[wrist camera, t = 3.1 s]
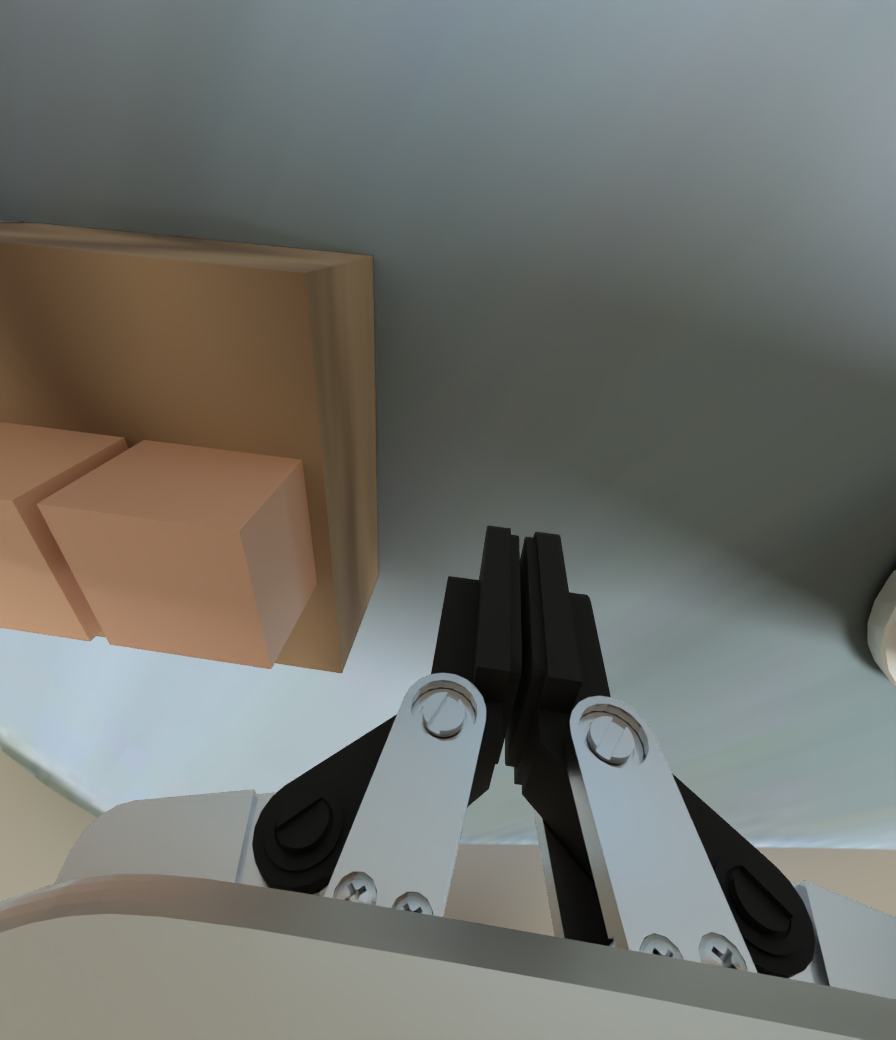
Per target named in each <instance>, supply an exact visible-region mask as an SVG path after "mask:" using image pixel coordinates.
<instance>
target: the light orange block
mask: <svg viewBox="0 0 896 1040" xmlns="http://www.w3.org/2000/svg"><path fill="white" fill-rule="evenodd" d="M126 450H128V446H127V443H126V440H125V437H117V436H109V435H101V434H93V433H85V432H77V431H69V430H61V429H53V428H45V427H37V426H29V425H21V424H13V423H5V422H0V628H6V629H12V630H19V631H25V632H32V633H38V634H45V635H51V636H58V637H65V638H71V639H78V640H84V641H91V640H92V639H93V638H94V637H95V636H96V635H97V634H98V633H99V632H100V631H101V630H102V628H101V626H100V624H99V622H98V621H97V619H96V617H95V615H94V613H93V611H92V609H91V607H90V605H89V603H88V601H87V600H86V598H85V596H84V594H83V592H82V590H81V588H80V586H79V584H78V582H77V580H76V578H75V577H74V575H73V573H72V571H71V569H70V567H69V565H68V563H67V561H66V559H65V557H64V555H63V554H62V552H61V550H60V548H59V546H58V544H57V542H56V540H55V538H54V536H53V534H52V532H51V531H50V529H49V527H48V525H47V523H46V521H45V519H44V517H43V515H42V513H41V511H40V509H39V508H38V506H37V503H39V502H40V501H42V500H44V499H45V498H47V497H49V496H50V495H52V494H54V493H55V492H57V491H59V490H61V489H62V488H64V487H66V486H67V485H69V484H71V483H72V482H74V481H76V480H77V479H79V478H81V477H82V476H84V475H86V474H87V473H89V472H91V471H92V470H94V469H96V468H98V467H99V466H101V465H103V464H104V463H106V462H108V461H109V460H111V459H113V458H114V457H116V456H118V455H119V454H121V453H123V452H124V451H126Z"/></svg>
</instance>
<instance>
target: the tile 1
mask: <svg viewBox="0 0 896 1040" xmlns="http://www.w3.org/2000/svg"><path fill="white" fill-rule="evenodd" d="M37 506H38V508H39V509H40V511H41V513H42V515H43V517H44V519H45V521H46V523H47V525H48V527H49V529H50V531H51V532H52V534H53V536H54V538H55V540H56V542H57V544H58V546H59V548H60V550H61V552H62V554H63V555H64V557H65V559H66V561H67V563H68V565H69V567H70V569H71V571H72V573H73V575H74V577H75V578H76V580H77V582H78V584H79V586H80V588H81V590H82V592H83V594H84V596H85V598H86V600H87V601H88V603H89V605H90V607H91V609H92V611H93V613H94V615H95V617H96V619H97V621H98V622H99V624H100V626H101V628H102V630H103V632H104V634H105V636H106V638H107V640H108V642H109V644H110V645H117V646H123V647H130V648H137V649H143V650H150V651H156V652H163V653H169V654H176V655H182V656H189V657H195V658H202V659H208V660H215V661H222V662H228V663H235V664H241V665H248V666H254V667H261V668H267V669H272V667H273V665H274V663H275V661H276V659H277V657H278V655H279V654H280V652H281V650H282V648H283V646H284V644H285V642H286V641H287V639H288V637H289V635H290V633H291V631H292V629H293V628H294V626H295V624H296V622H297V620H298V618H299V616H300V615H301V613H302V611H303V609H304V607H305V605H306V603H307V602H308V600H309V598H310V596H311V594H312V592H313V590H314V589H315V587H316V585H317V578H316V570H315V561H314V553H313V545H312V536H311V528H310V519H309V511H308V503H307V494H306V486H305V478H304V469H303V461H302V460H301V459H293V458H285V457H277V456H269V455H261V454H253V453H245V452H237V451H229V450H221V449H213V448H205V447H197V446H189V445H181V444H173V443H165V442H157V441H149V440H143V441H141V442H140V443H138V444H136V445H134V446H133V447H131V448H129V449H128V450H126V451H124V452H123V453H121V454H119V455H118V456H116V457H114V458H113V459H111V460H109V461H108V462H106V463H104V464H103V465H101V466H99V467H98V468H96V469H94V470H92V471H91V472H89V473H87V474H86V475H84V476H82V477H81V478H79V479H77V480H76V481H74V482H72V483H71V484H69V485H67V486H66V487H64V488H62V489H61V490H59V491H57V492H55V493H54V494H52V495H50V496H49V497H47V498H45V499H44V500H42V501H40V502H39V503H37Z"/></svg>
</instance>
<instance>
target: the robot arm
mask: <svg viewBox="0 0 896 1040" xmlns="http://www.w3.org/2000/svg"><path fill="white" fill-rule="evenodd" d="M868 646H869V648H870V651H871V654H872V656H873V659H874V661H875V662H876V664H877V665H878V666H879V667H880V669H881V670H882V671H883V672H884V674H885V675H886V676H887V678H888V679H889V680H890V681H891V683H892V684H893V685H894V686H895V687H896V569H895V570H894V572H893V573H892V574H891V575H890V577H889V578H888V580H887V582H886V583H885V585H884V586H883V588H882V590H881V591H880V593H879V594H878V596H877V598H876V599H875V601H874V605H873V608H872V611H871V614H870V617H869V620H868ZM504 739H505V764H506V766H512V767H514V784H519V785H522V795H523V796H524V797H525V798H526V799H527V801H528V802H529V803H530V804H531V805H532V807H533V808H534V812H535V825H536V831H537V837H538V843H539V848H540V854H541V860H542V866H543V872H544V877H545V883H546V889H547V895H548V901H549V907H550V912H551V918H552V924H553V929H554V936H555V937H553V936H548V935H541V934H536V933H531V932H524V931H519V930H514V929H508V928H502V927H497V926H490V925H485V924H480V923H474V922H468V921H463V920H456V919H451V918H445V917H444V912H445V907H446V903H447V898H448V893H449V889H450V884H451V879H452V875H453V870H454V866H455V861H456V856H457V852H458V847H459V843H460V838H461V834H462V829H463V824H464V820H465V815H466V811H467V807H468V806H469V805H470V804H472V803H473V802H474V801H475V800H476V799H477V798H479V797H480V796H481V795H482V794H483V793H484V792H486V791H487V790H488V789H489V786H490V782H491V778H492V774H493V770H494V766H495V764H498V762H499V758H500V754H501V750H502V747H503V743H504ZM0 1040H896V917H894V916H892V915H889V914H887V913H884V912H882V911H879V910H877V909H874V908H872V907H869V906H867V905H864V904H862V903H860V902H857V901H854V900H852V899H850V898H847V897H845V896H842V895H840V894H837V893H835V892H832V891H830V890H827V889H825V888H822V887H820V886H818V885H815V884H812V883H810V882H808V881H805V880H804V881H803V882H801V883H800V884H797V883H794V882H792V881H789V880H788V879H787V878H786V877H785V876H784V875H783V874H782V873H781V871H780V870H779V869H778V868H777V867H776V866H775V865H774V864H772V863H771V862H770V861H769V860H768V859H767V858H766V857H765V856H764V855H763V854H761V853H760V852H759V851H758V850H757V849H756V848H755V847H754V846H753V845H751V844H750V843H749V842H748V841H747V840H746V839H745V838H744V837H743V836H741V835H740V834H739V833H738V832H737V831H736V830H735V829H734V828H732V827H731V826H730V825H729V824H728V823H727V822H726V821H725V820H724V819H722V818H721V817H720V816H719V815H718V814H717V813H716V812H715V811H713V810H712V809H711V808H710V807H709V806H708V805H707V804H706V803H705V802H703V801H702V800H701V799H700V798H699V797H698V796H697V795H696V794H695V793H693V792H692V791H691V790H690V789H689V788H688V787H687V786H686V785H684V784H683V783H682V782H681V781H680V780H679V779H678V778H677V777H676V776H674V775H673V774H672V773H671V770H670V768H669V766H668V763H667V761H666V759H665V756H664V754H663V752H662V750H661V747H660V745H659V743H658V740H657V738H656V736H655V734H654V732H653V730H652V729H651V727H650V725H649V723H648V722H647V721H646V720H645V719H644V718H643V717H642V716H641V714H640V713H639V712H638V711H636V710H635V709H633V708H632V707H631V706H629V705H628V704H626V703H624V702H622V701H619V700H617V699H615V698H612V697H611V696H610V692H609V687H608V682H607V677H606V672H605V668H604V663H603V658H602V653H601V649H600V644H599V639H598V634H597V629H596V625H595V620H594V615H593V610H592V605H591V601H590V598H589V597H588V595H584V594H576V593H569V590H568V583H567V577H566V570H565V564H564V557H563V551H562V545H561V538H560V535H557V534H549V533H541V532H535V534H534V537H533V538H532V537H525V540H524V544H523V549H522V554H521V558H520V554H519V536H517V535H511V529H510V528H503V527H495V526H487V531H486V537H485V543H484V550H483V557H482V563H481V570H480V576H479V580H473V579H465V578H458V577H451V576H449V577H448V581H447V586H446V592H445V598H444V604H443V609H442V615H441V621H440V626H439V632H438V638H437V643H436V649H435V655H434V660H433V666H432V672H431V674H430V675H428V676H425V677H423V678H421V679H419V680H418V681H417V682H415V683H414V684H413V685H412V686H411V687H410V688H409V690H408V691H407V693H406V695H405V696H404V699H403V701H402V704H401V706H400V709H399V711H398V714H397V715H395V716H394V717H392V718H390V719H389V720H387V721H386V722H384V723H383V724H381V725H379V726H378V727H376V728H375V729H373V730H372V731H370V732H368V733H367V734H365V735H364V736H362V737H361V738H359V739H357V740H356V741H354V742H353V743H351V744H350V745H348V746H346V747H345V748H343V749H342V750H340V751H339V752H337V753H335V754H334V755H332V756H331V757H329V758H328V759H326V760H324V761H323V762H321V763H320V764H318V765H317V766H315V767H313V768H312V769H310V770H309V771H307V772H306V773H304V774H302V775H301V776H299V777H298V778H296V779H295V780H293V781H291V782H290V783H288V784H287V785H285V786H284V787H283V788H282V789H280V790H279V791H278V792H276V793H266V794H256V793H255V790H254V789H253V790H242V791H232V792H221V793H210V794H199V795H189V796H178V797H167V798H156V799H146V800H135V801H131V802H128V803H124V804H120V805H117V806H115V807H114V808H112V809H110V810H109V811H107V812H105V813H103V814H102V815H100V816H99V817H98V818H97V819H96V820H95V821H93V822H92V823H91V824H90V825H89V826H88V827H87V828H86V829H85V830H84V831H83V832H82V833H81V835H80V837H79V838H78V840H77V841H76V843H75V844H74V846H73V847H72V849H71V850H70V853H69V854H68V857H67V859H66V861H65V863H64V865H63V867H62V869H61V871H60V873H59V875H58V878H57V879H56V882H55V884H53V885H49V886H46V887H42V888H39V889H36V890H33V891H30V892H27V893H24V894H20V895H17V896H14V897H11V898H9V899H6V900H4V901H2V902H0Z"/></svg>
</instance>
